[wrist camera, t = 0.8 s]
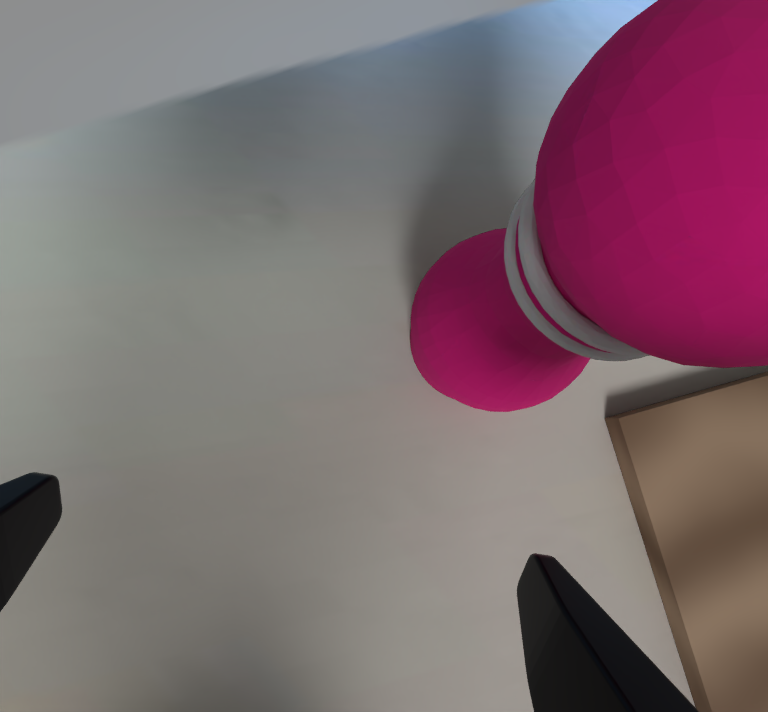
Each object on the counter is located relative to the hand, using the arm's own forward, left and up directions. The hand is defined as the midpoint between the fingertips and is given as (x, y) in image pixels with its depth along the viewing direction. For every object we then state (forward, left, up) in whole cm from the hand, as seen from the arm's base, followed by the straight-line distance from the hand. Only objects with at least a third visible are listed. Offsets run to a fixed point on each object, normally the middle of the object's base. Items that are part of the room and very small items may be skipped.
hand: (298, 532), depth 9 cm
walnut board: (-9, -21, -13) cm, 27 cm away
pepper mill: (+4, -8, -13) cm, 16 cm away
